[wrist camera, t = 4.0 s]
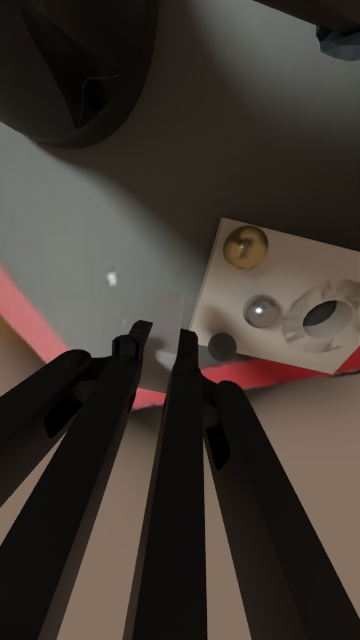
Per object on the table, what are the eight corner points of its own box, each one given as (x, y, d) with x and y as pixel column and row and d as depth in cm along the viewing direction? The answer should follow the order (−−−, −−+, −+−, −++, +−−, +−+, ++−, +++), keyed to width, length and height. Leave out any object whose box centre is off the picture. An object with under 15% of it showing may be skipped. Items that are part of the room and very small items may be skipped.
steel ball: (234, 313, 19) (241, 331, 17) (247, 285, 18) (256, 299, 15) (264, 320, 20) (275, 338, 17) (279, 292, 18) (293, 308, 15)
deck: (188, 329, 24) (187, 341, 22) (221, 216, 17) (224, 218, 15) (321, 359, 25) (332, 374, 23) (402, 262, 18) (430, 269, 16)
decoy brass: (215, 260, 17) (219, 271, 14) (228, 219, 15) (235, 221, 12) (251, 269, 17) (262, 282, 14) (268, 229, 15) (285, 234, 12)
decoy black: (204, 345, 22) (205, 363, 19) (211, 324, 20) (213, 341, 18) (228, 351, 22) (233, 369, 19) (238, 330, 20) (244, 348, 18)
